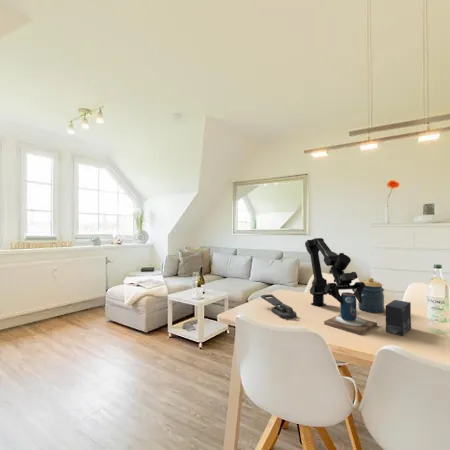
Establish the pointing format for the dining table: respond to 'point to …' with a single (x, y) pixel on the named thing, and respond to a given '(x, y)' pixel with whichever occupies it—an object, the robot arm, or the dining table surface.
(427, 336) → the dining table surface
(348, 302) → the soda can
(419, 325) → the dining table surface
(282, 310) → the zipper pull
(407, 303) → the small box
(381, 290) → the canister
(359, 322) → the rosette board
